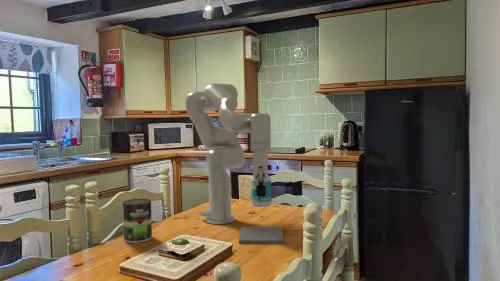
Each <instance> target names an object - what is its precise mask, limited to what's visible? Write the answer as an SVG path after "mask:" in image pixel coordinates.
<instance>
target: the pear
mask: <svg viewBox="0 0 500 281" xmlns="http://www.w3.org/2000/svg"><path fill="white" fill-rule="evenodd" d="M168 242H172V244H175V245H186V244H189V243H190V241H189V240H188V238H187V239H186V238H176V239H172V240H169V241H168ZM190 244H191V243H190Z"/></svg>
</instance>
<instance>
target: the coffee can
mask: <svg viewBox="0 0 500 281" xmlns="http://www.w3.org/2000/svg"><path fill="white" fill-rule="evenodd" d="M122 215H123V216H122V218H123V219H122V221H123V222H122V223H123V241H124V242H126V243H128V244H129V243H130V244H141V243H145V242H148V241H150V240H151V239H152V238H153V236H152V234H153V233H152V232H153V230H152V229H153V228H152V222H153V221H152V200H151V199H149V198H133V199H132V198H131V199H126V200H124V201H122Z"/></svg>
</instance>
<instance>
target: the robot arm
mask: <svg viewBox="0 0 500 281" xmlns="http://www.w3.org/2000/svg"><path fill="white" fill-rule="evenodd" d="M238 94H239V92H238V90H237V87H236V86H234V85H232V84H230V83H211V84H209V85H207V86H206V87H205V89H204V91H202V90H201V91H193V92H192V91H191V92H190V93H188V94H187V96H186V97H185V110H186V114H187V116H188V117H189V119H190V120H191V122H192V124H193V125H194V126H195V127H194V128H195V129H196V132H197V134H198V137H199V138H200V141H201V144H202V145H203V148H205V149H207V150H208V152H207V154H206V155H205V163H206V168H207V174H208V204H209V206H208V208H209V209H208V210H206V211H205V210H199V216H201V217H205V221H206V223H209V224H212V225H225V224H227V225H228V224H230V223H234V222H235V221H236V216H234V215H232V182H231V181H232V180H231V177H230V175H229V173H228V172H227V170H231V169H232V170H233V169H238V168H242V167H243V166H244V165H245V162H246V157H245V156H246V155H245V151H244V150H243V147H242V145H241V143H240V141H239V139H238V137H237V135H236V134H242V133H243V134H245V133H246V134H248V133H249V134H250V135H249V136H250V151H251V152H253V155H252V166H253V167H252V168H253V169H252V170H253V171H252V172H253V173H252V176H253V177H254V178H255V177H257V196H266V189H265V178H266V177H267V175H268V164H269V162H268V158H269V156H268V152H270V151H272V140H271V139H272V138H271V137H272V133H271V131H272V130H271V128H272V127H271V126H272V124H271V116H270V113H265V112H264V113H263V112H261V113H255V112H254V113H253V112H237V113H236V112H235V111H236V110H237V108H238V103H239V102H238ZM206 111H218V119H219V122H220V123H221V125H222V126H223V127H218V126H217V125H216V124H215V122H214V119H213V118H212V117H211V115H209V114H208V113H207V112H206ZM262 169H263V171H262ZM258 176H259V177H258ZM262 176H264V177H262Z"/></svg>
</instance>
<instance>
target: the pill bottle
mask: <svg viewBox="0 0 500 281" xmlns="http://www.w3.org/2000/svg"><path fill="white" fill-rule="evenodd" d="M262 171H263V169H262ZM258 177H259V176H258ZM262 177H264V176H262ZM250 181H251V182H250V183H251V184H250V185H251V187H250V189H251V205H252V206H253V207H258V208H265V207H269V206H271V205H272V200H273V199H272V177H271V175H269V174H267V177H266V178H265V189H266V196H257V177H255V178H254V177H253V175H252V176H251V179H250Z"/></svg>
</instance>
